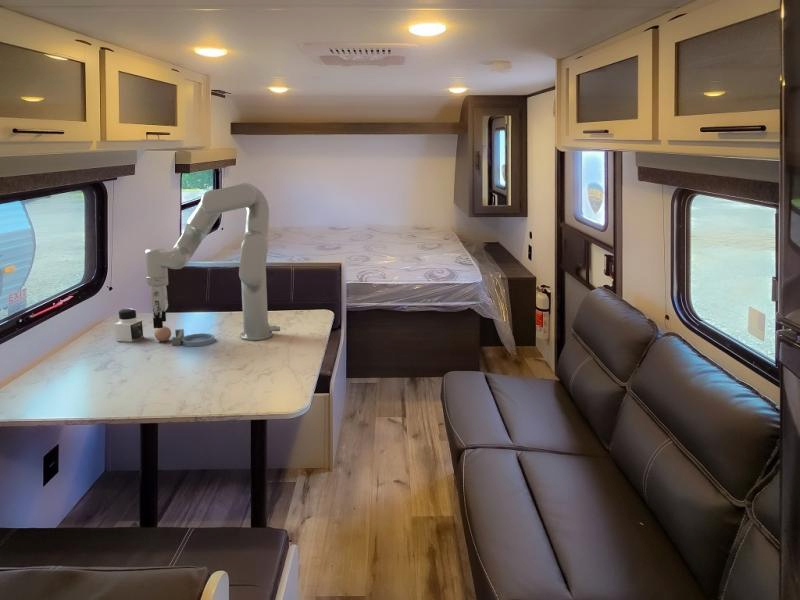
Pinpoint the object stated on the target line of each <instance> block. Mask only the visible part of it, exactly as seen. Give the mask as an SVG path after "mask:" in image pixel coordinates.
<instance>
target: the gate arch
mask: <svg viewBox="0 0 800 600" xmlns="http://www.w3.org/2000/svg"><path fill="white" fill-rule="evenodd" d="M174 331H175V336H171V340H172V346H173V345H174V346H182V343H181V339H182V337H185V331H184V328H179V329H175V330H174Z"/></svg>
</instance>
